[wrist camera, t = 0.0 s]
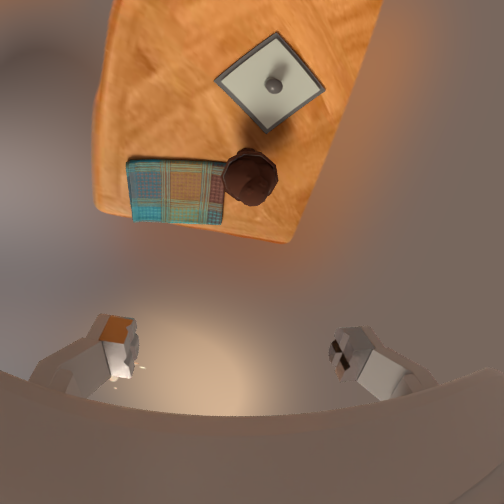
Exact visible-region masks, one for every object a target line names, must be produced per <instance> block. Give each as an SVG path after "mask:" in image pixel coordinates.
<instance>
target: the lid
mask: <svg viewBox="0 0 504 504" xmlns="http://www.w3.org/2000/svg"><path fill="white" fill-rule="evenodd" d="M221 82H222V83H223V84H224V85H225V86H226V87H227V88H228V89H229V90H230V91H231V92H232V93H233V94H234V95H235V96H236V97H237V98H238V99H239V100H240V101H241V102H242V103H243V104H244V105H245V106H246V107H247V108H248V109H249V110H250V111H251V112H252V113H253V114H254V115H255V116H256V118H257V119H258V120H259V121H260V122H261V123H262V124H263V125H264V126H265V127H266V128H267V129H268V128H269V127H271V126H272V125H273V124H275V123H276V122H277V121H279V120H280V119H281V118H282V117H284V116H285V115H286V114H288V113H289V112H290V111H292V110H293V109H295V108H296V107H297V106H299V105H300V104H301V103H303V102H304V101H306V100H307V99H308V98H310V97H311V96H313V95H314V94H315V93H317V92H318V91H320V89H319V88H318V87H317V85H316V84H315V83H314V81H313V80H312V79H311V78H310V76H309V75H308V74H307V73H306V72H305V70H304V69H303V68H302V67H301V66H300V64H299V63H298V62H297V61H296V60H295V59H294V57H293V56H292V55H291V54H290V53H289V52H288V51H287V49H286V48H285V47H284V46H283V45H282V44H281V43H280V42H279V41H278V40H277V39H275V40H273V41H272V42H270V43H269V44H267V45H266V46H265V47H263V48H262V49H261V50H259V51H258V52H257V53H255V54H254V55H253V56H251V57H250V58H249V59H247V60H246V61H245V62H244V63H242V64H241V65H240V66H238V67H237V68H236V69H235V70H234V71H232V72H231V73H230V74H229V75H228V76H226V77H225V78H224V79H223V80H222V81H221Z"/></svg>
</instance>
